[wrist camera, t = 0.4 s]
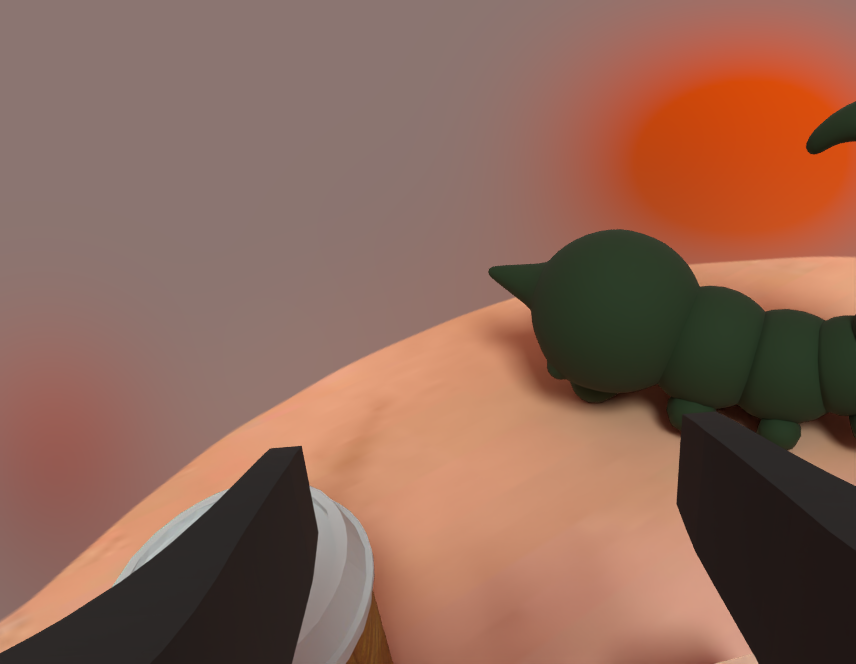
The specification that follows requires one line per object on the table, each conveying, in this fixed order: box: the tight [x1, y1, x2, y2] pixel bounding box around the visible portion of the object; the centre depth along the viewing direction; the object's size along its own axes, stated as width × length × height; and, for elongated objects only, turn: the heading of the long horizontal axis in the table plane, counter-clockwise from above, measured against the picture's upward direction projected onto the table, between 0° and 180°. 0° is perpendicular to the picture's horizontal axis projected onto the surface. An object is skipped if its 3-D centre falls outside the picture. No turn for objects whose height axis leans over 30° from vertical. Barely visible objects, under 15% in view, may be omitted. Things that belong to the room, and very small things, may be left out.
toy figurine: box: [489, 102, 856, 450], centre depth 35 cm, size 9×19×25 cm
